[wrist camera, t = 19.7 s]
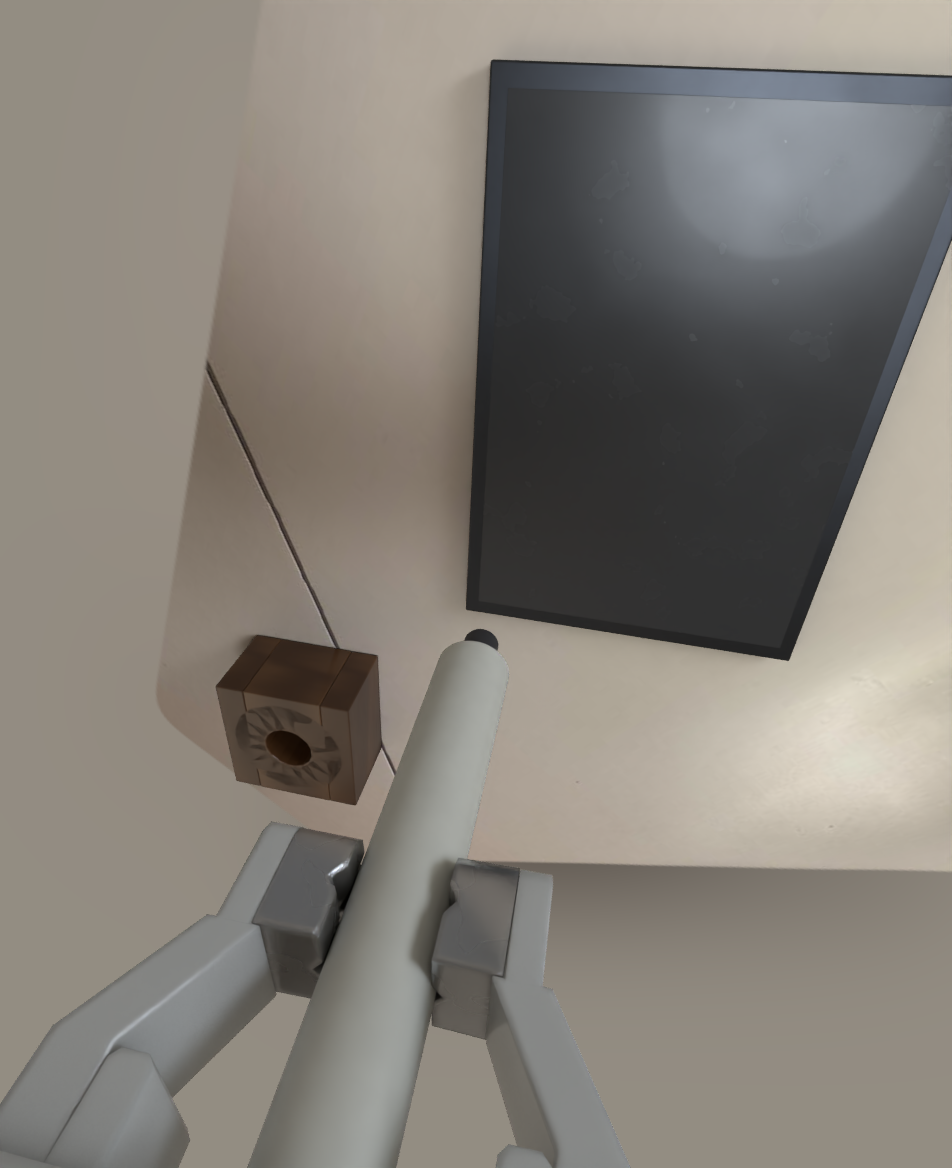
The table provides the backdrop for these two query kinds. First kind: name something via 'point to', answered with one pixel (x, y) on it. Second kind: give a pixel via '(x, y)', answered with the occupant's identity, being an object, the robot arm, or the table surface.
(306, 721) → the pen block
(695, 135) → the tablet
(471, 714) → the stylus
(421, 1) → the table surface
